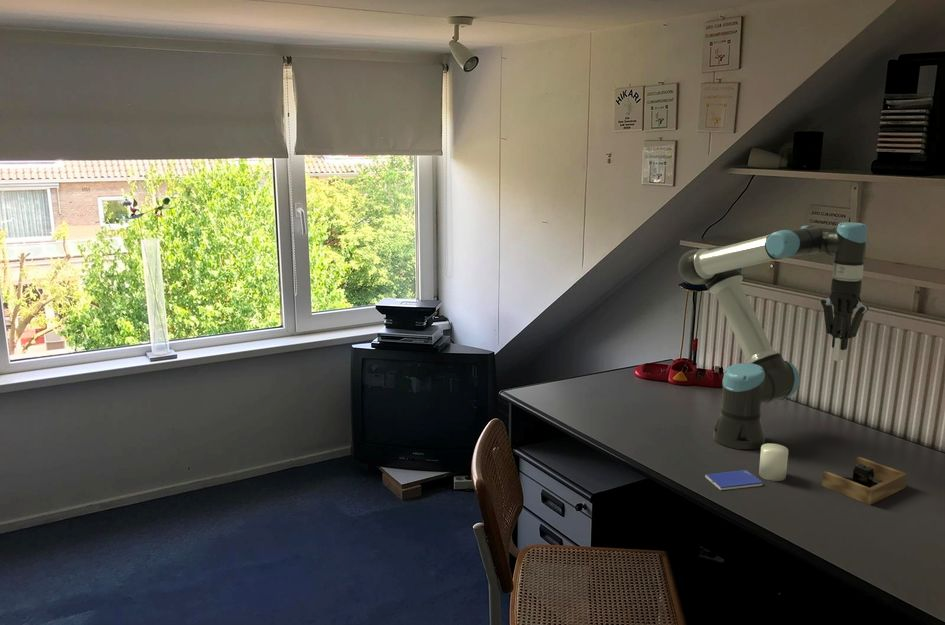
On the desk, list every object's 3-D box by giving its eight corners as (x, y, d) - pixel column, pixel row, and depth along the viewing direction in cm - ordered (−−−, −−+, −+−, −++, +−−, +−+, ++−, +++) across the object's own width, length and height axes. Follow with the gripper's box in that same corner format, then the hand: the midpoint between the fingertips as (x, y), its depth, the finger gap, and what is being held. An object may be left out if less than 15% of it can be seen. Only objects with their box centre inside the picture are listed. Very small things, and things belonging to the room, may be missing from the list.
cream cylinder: (753, 473, 209) (755, 447, 208) (768, 467, 213) (771, 441, 211) (775, 483, 204) (778, 455, 202) (791, 476, 208) (793, 449, 206)
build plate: (892, 488, 202) (894, 473, 200) (876, 495, 198) (878, 479, 197) (848, 471, 212) (850, 456, 211) (832, 477, 208) (834, 462, 207)
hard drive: (745, 469, 210) (705, 473, 208) (762, 481, 202) (720, 486, 200) (745, 474, 210) (704, 478, 208) (762, 487, 203) (720, 492, 200)
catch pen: (821, 485, 202) (823, 472, 201) (857, 469, 211) (859, 456, 211) (870, 505, 191) (871, 490, 190) (905, 487, 201) (907, 473, 200)
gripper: (817, 276, 212) (809, 356, 218) (862, 283, 202) (852, 367, 207) (832, 273, 216) (824, 352, 222) (877, 280, 206) (867, 363, 211)
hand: (838, 359), depth 214 cm, fingers closed
